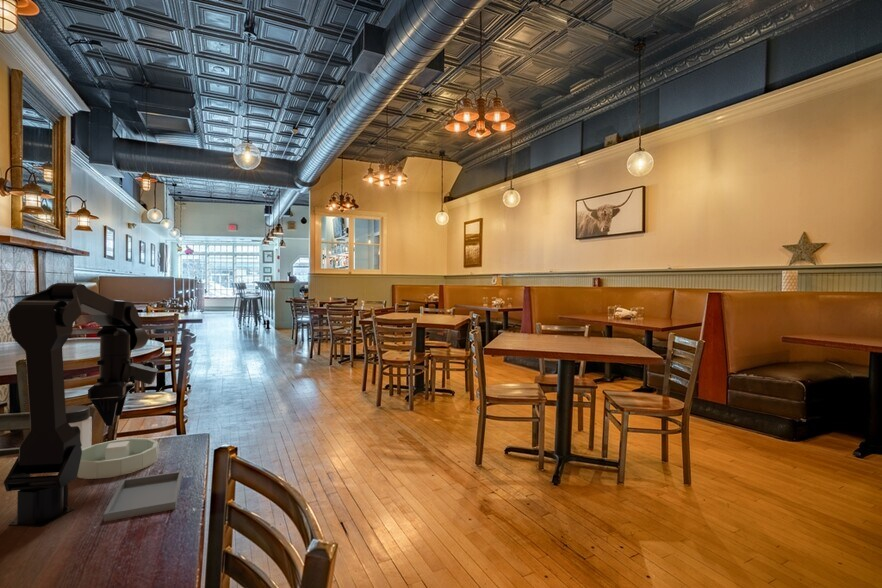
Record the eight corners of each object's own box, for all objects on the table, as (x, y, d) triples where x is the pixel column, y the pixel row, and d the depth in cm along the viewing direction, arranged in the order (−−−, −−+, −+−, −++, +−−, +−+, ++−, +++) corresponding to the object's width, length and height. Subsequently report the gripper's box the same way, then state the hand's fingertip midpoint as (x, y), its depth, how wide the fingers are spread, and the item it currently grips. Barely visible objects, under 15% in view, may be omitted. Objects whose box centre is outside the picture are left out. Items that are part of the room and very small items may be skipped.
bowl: (122, 481, 95) (122, 463, 95) (53, 478, 96) (53, 460, 96) (171, 454, 111) (172, 439, 111) (112, 452, 112) (112, 437, 112)
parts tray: (175, 510, 83) (175, 501, 83) (103, 523, 78) (103, 514, 78) (182, 478, 97) (182, 470, 97) (122, 487, 92) (122, 479, 92)
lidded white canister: (44, 467, 102) (45, 416, 102) (43, 457, 108) (44, 409, 108) (93, 457, 109) (93, 409, 109) (89, 449, 115) (90, 403, 115)
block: (126, 465, 103) (126, 445, 103) (105, 468, 101) (105, 448, 101) (129, 459, 106) (129, 440, 106) (109, 462, 104) (109, 443, 104)
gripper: (149, 357, 98) (148, 427, 98) (160, 348, 115) (159, 407, 115) (87, 360, 93) (86, 433, 93) (108, 350, 110) (107, 412, 110)
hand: (114, 420), depth 103 cm, fingers open, 9 cm apart
